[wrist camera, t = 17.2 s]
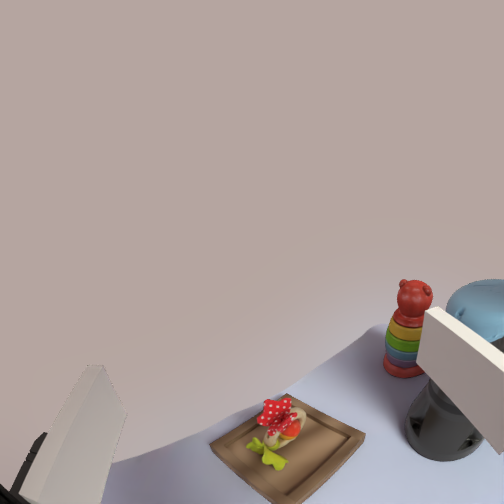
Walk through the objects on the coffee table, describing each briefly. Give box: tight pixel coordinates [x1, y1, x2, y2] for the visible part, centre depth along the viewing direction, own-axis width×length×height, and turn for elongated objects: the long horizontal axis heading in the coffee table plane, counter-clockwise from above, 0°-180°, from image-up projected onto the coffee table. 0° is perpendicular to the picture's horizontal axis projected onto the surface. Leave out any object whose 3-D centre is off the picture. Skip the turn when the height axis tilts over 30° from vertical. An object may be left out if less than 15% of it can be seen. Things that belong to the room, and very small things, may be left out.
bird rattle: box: [246, 398, 306, 471], centre depth 32 cm, size 6×11×9 cm
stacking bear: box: [383, 279, 433, 378], centre depth 45 cm, size 11×10×18 cm
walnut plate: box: [210, 393, 366, 504], centre depth 33 cm, size 16×16×2 cm
